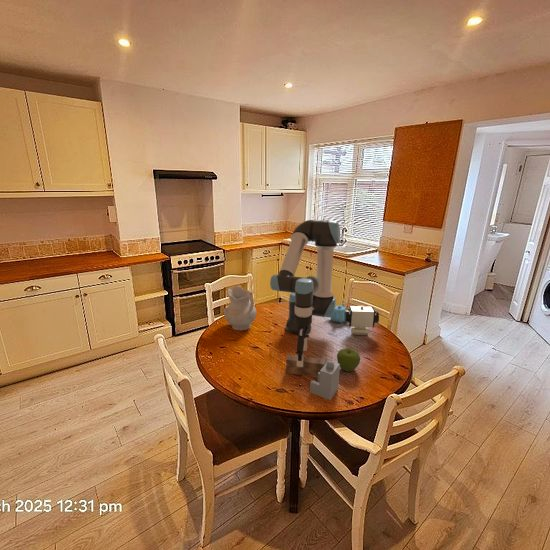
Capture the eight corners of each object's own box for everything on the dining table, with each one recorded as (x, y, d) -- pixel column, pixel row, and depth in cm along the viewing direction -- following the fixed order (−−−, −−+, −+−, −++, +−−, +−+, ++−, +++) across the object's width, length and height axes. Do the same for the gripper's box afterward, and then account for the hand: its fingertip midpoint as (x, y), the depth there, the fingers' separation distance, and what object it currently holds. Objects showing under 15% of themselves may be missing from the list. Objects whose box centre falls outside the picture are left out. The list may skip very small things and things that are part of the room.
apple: (334, 362, 145) (335, 344, 142) (356, 362, 145) (357, 344, 142) (338, 376, 135) (339, 356, 132) (361, 376, 134) (363, 357, 131)
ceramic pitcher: (265, 327, 184) (266, 288, 178) (246, 337, 168) (246, 295, 162) (238, 319, 195) (238, 282, 189) (217, 328, 179) (217, 288, 173)
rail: (286, 372, 137) (286, 359, 135) (287, 367, 141) (287, 354, 139) (325, 378, 133) (326, 364, 131) (326, 372, 137) (327, 359, 135)
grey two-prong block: (310, 392, 124) (311, 362, 120) (318, 381, 131) (320, 352, 127) (330, 400, 119) (332, 369, 115) (338, 388, 126) (340, 358, 122)
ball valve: (373, 331, 176) (376, 303, 171) (377, 338, 168) (380, 309, 162) (342, 330, 177) (344, 302, 172) (344, 336, 169) (346, 308, 164)
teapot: (352, 324, 185) (353, 309, 182) (332, 326, 183) (333, 310, 180) (343, 315, 197) (344, 301, 194) (324, 317, 195) (325, 302, 192)
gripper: (308, 327, 116) (307, 374, 122) (314, 304, 140) (313, 345, 146) (289, 325, 118) (288, 372, 124) (298, 303, 141) (297, 343, 147)
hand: (301, 358), depth 135 cm, fingers open, 13 cm apart
